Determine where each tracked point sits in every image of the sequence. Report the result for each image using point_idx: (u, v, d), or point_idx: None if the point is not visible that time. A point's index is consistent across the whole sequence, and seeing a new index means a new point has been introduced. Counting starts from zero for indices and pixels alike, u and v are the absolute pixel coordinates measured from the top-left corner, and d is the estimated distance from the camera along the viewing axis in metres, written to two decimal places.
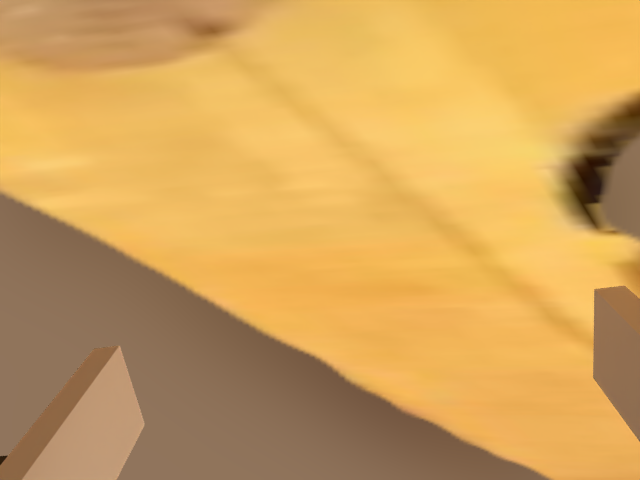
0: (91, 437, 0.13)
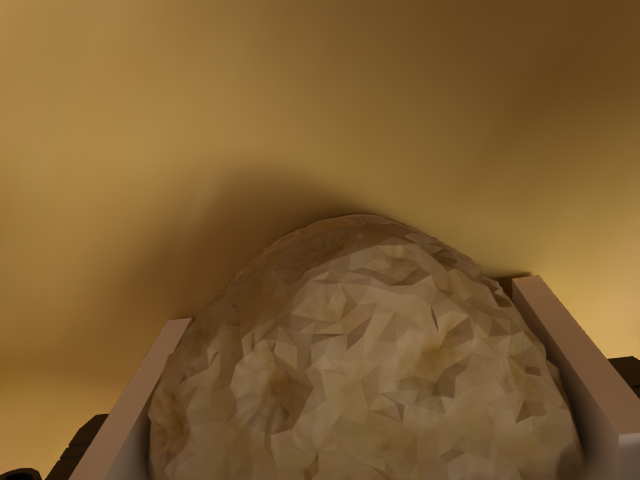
0: None
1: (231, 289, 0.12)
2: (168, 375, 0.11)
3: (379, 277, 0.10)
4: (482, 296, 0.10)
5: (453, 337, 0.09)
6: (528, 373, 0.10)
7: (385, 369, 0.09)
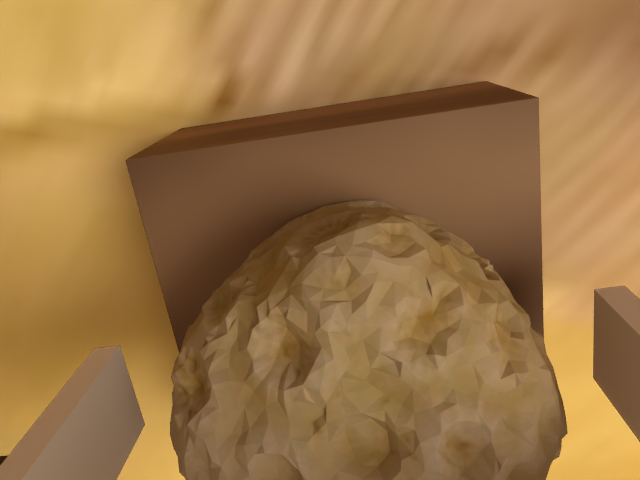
0: (91, 437, 0.13)
1: (246, 265, 0.13)
2: (189, 341, 0.12)
3: (380, 251, 0.11)
4: (472, 269, 0.12)
5: (445, 304, 0.11)
6: (513, 337, 0.11)
7: (386, 331, 0.10)
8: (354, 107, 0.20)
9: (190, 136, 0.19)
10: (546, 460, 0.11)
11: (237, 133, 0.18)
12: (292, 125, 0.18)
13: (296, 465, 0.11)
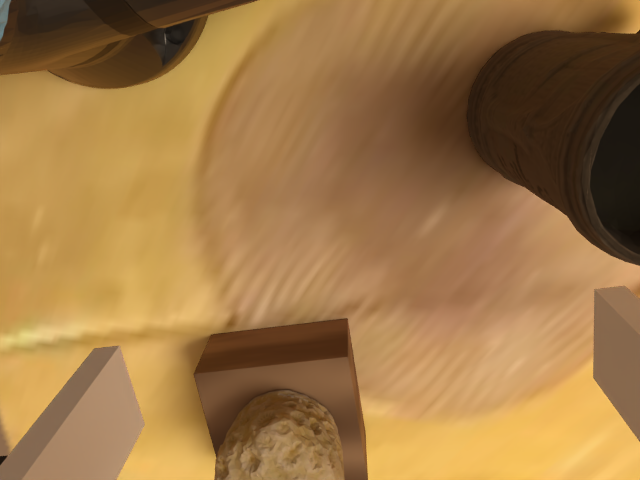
0: (91, 437, 0.13)
1: (239, 427, 0.39)
2: (221, 454, 0.39)
3: (278, 432, 0.37)
4: (309, 433, 0.38)
5: (297, 447, 0.37)
6: (319, 455, 0.37)
7: (279, 456, 0.37)
8: (287, 336, 0.46)
9: (216, 350, 0.46)
10: None
11: (236, 355, 0.44)
12: (259, 353, 0.44)
13: None
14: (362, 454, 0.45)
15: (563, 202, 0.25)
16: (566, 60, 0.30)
